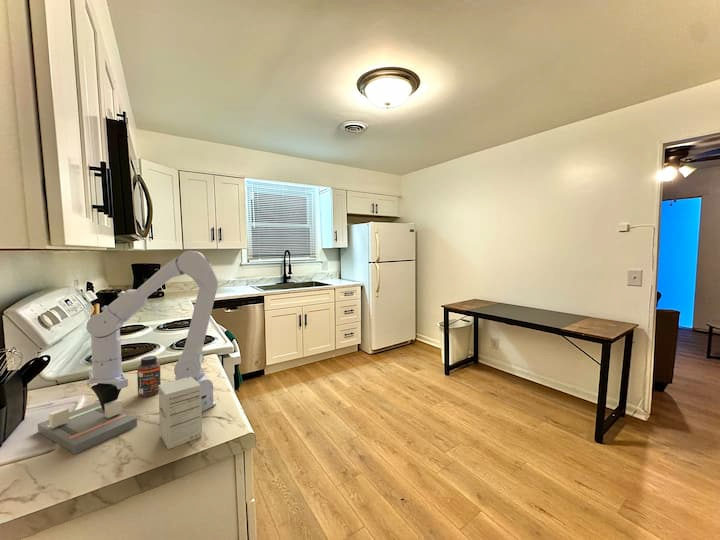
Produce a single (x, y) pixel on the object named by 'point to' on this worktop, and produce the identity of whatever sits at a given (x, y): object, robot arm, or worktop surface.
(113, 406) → the block
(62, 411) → the block
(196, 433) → the supplement box
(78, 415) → the board
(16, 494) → the worktop surface
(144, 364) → the supplement bottle
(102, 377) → the robot arm
